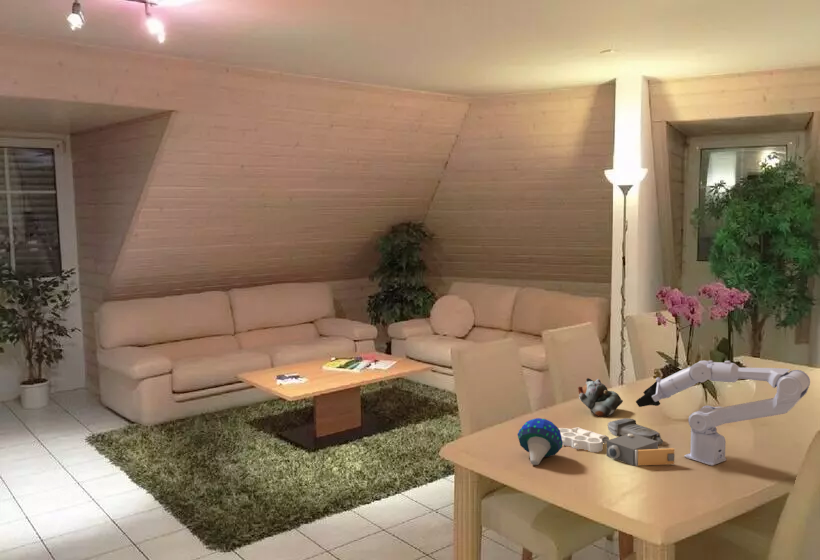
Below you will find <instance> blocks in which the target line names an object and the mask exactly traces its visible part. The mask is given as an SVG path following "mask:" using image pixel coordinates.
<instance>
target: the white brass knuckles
mask: <svg viewBox="0 0 820 560" xmlns="http://www.w3.org/2000/svg"><path fill="white" fill-rule="evenodd" d="M558 429H559V430H560V433H561V437H562V442H563V444H562V446H566V447H569V446H571V447H570V448H572V447H573V448H572V449H574V448H576V449H575V450H579V449H584V450H583V451H586V450H588V451H587V452H589V451H590V452H589V453H600V452H602V451H603V448H604V447H603V443H604V445H607V440H610V437H609V436H608V435H606V434H600V433H598V432H594V431H593V430H588V429H584V428H581V427H579V426H578V427H573V428H566V427H565V428H564V427H559V428H558ZM599 451H600V452H599Z"/></svg>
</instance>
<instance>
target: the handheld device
mask: <svg viewBox="0 0 820 560" xmlns="http://www.w3.org/2000/svg"><path fill="white" fill-rule="evenodd" d="M607 430H608V432H609V433H611V434H612V435H613V436H615V437H620V436H623V435H626V434H630V433H633V434H636V435H639V436H643V437H646V438H649V439H652V440H655V441H658V445H663V444H664V440H663V439H662V438H661V433H660V432H658V431H656V430H654V429H652V428H649V427H647V426H644V425H639V424H638V423H637V421H636V419H634V418H620V419H616V420H612V421H609V422H608V423H607Z"/></svg>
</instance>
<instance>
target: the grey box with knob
mask: <svg viewBox="0 0 820 560" xmlns="http://www.w3.org/2000/svg"><path fill="white" fill-rule="evenodd" d="M645 449H659V444H658V441H655V440H652V439H649V438H646V437H643V436H639V435H636V434H633V433H630V434H626V435H621V436H616V437H614V438H611V439H610V438H609V440H607V443H606V457H607V458H611V459H613V460H616V461H620V462H621V463H624V462H625V464H628V465H630V466H633V467H634V466H635V450H645Z"/></svg>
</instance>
